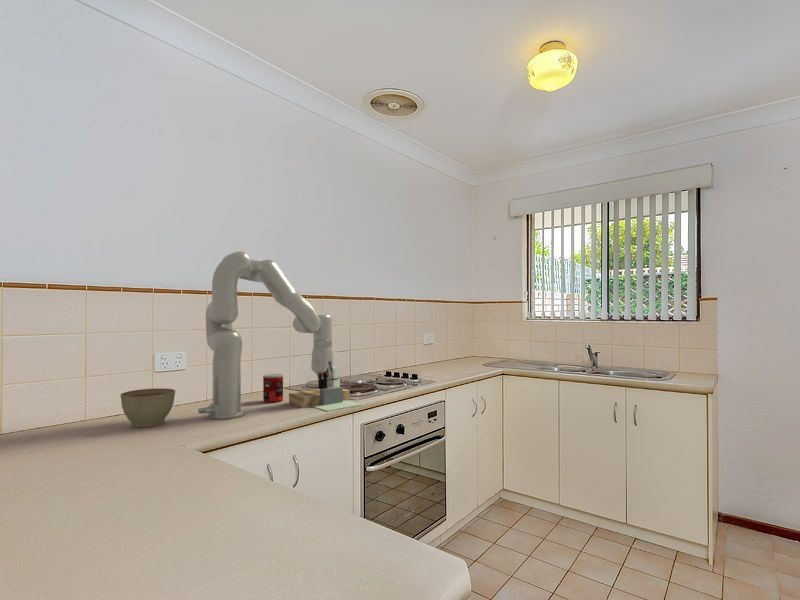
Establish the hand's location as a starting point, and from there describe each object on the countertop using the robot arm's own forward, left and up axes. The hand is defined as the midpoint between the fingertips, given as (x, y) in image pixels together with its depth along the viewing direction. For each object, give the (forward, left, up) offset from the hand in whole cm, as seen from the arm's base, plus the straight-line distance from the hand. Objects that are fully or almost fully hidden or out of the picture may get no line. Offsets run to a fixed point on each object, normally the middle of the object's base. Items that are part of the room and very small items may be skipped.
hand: (322, 388), depth 184 cm
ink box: (+14, +16, -6) cm, 22 cm away
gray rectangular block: (0, -5, -2) cm, 6 cm away
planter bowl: (-62, +10, -6) cm, 63 cm away
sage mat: (0, -10, -6) cm, 12 cm away
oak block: (0, +2, -6) cm, 6 cm away
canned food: (-14, +16, -6) cm, 22 cm away
